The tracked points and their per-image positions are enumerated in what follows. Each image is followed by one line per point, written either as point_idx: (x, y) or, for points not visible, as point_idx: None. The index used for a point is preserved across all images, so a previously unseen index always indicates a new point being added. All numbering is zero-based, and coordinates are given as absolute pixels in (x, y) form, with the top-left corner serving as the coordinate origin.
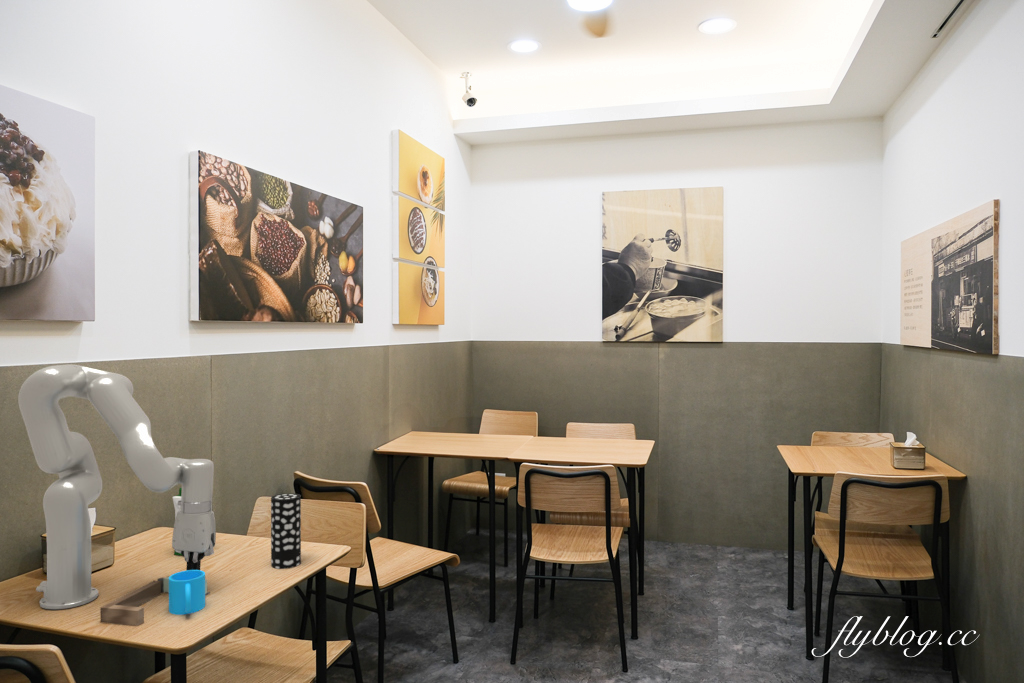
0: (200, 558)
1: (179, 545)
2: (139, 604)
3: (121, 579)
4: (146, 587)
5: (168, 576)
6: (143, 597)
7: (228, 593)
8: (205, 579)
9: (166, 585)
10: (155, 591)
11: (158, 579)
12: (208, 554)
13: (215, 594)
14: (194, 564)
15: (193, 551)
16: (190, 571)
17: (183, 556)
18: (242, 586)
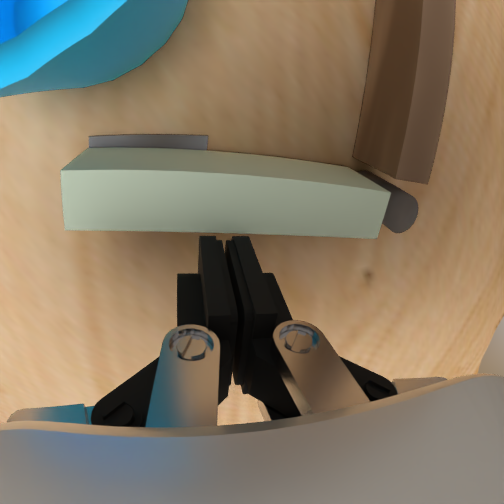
0: (133, 377)
1: (473, 439)
2: (378, 10)
3: (487, 271)
4: (424, 70)
5: (376, 231)
6: (392, 34)
7: (9, 233)
8: (76, 228)
9: (350, 175)
10: (377, 122)
11: (412, 202)
12: (35, 420)
13: (54, 206)
14: (204, 321)
15: (162, 435)
16: (28, 33)
17: (352, 363)
18: (22, 314)
